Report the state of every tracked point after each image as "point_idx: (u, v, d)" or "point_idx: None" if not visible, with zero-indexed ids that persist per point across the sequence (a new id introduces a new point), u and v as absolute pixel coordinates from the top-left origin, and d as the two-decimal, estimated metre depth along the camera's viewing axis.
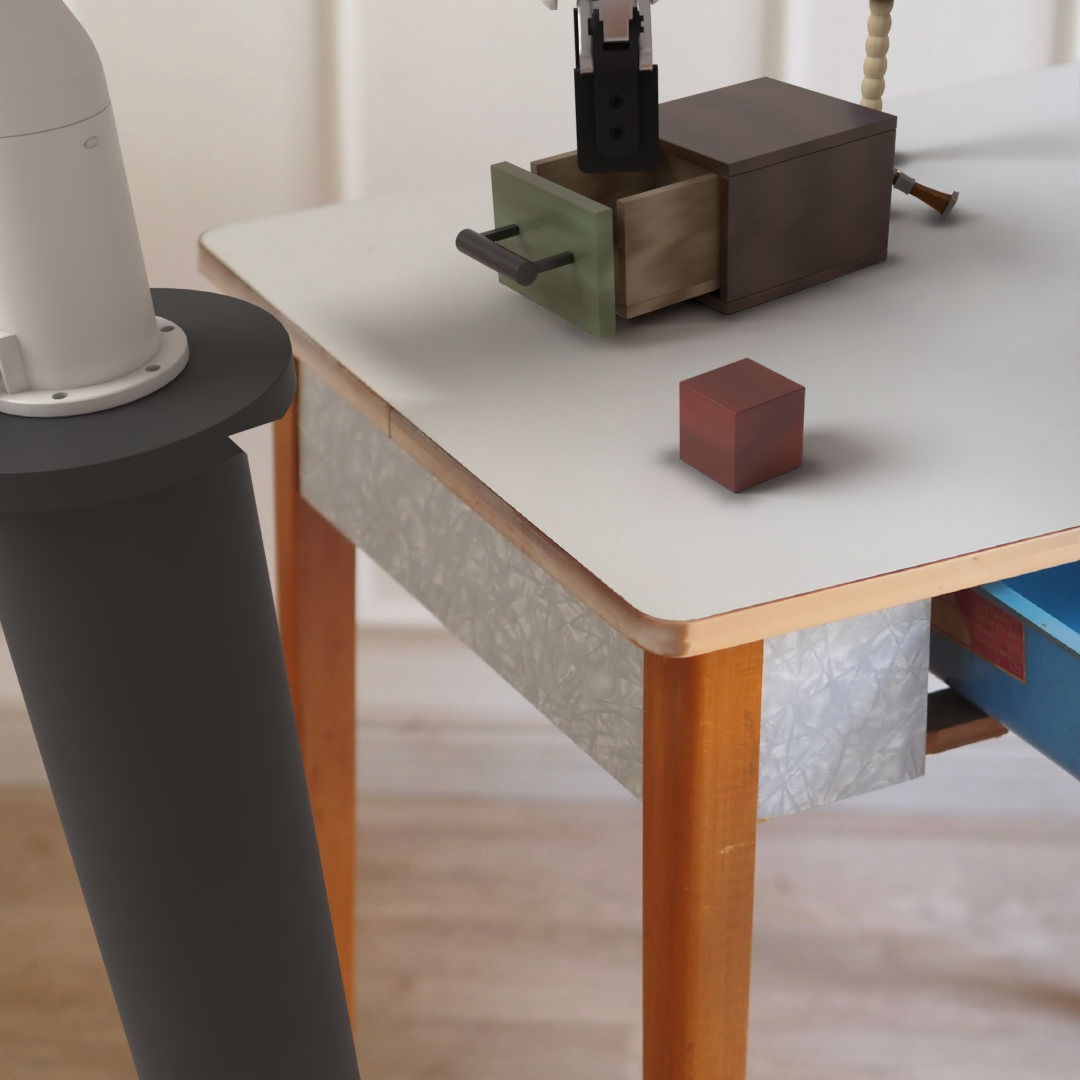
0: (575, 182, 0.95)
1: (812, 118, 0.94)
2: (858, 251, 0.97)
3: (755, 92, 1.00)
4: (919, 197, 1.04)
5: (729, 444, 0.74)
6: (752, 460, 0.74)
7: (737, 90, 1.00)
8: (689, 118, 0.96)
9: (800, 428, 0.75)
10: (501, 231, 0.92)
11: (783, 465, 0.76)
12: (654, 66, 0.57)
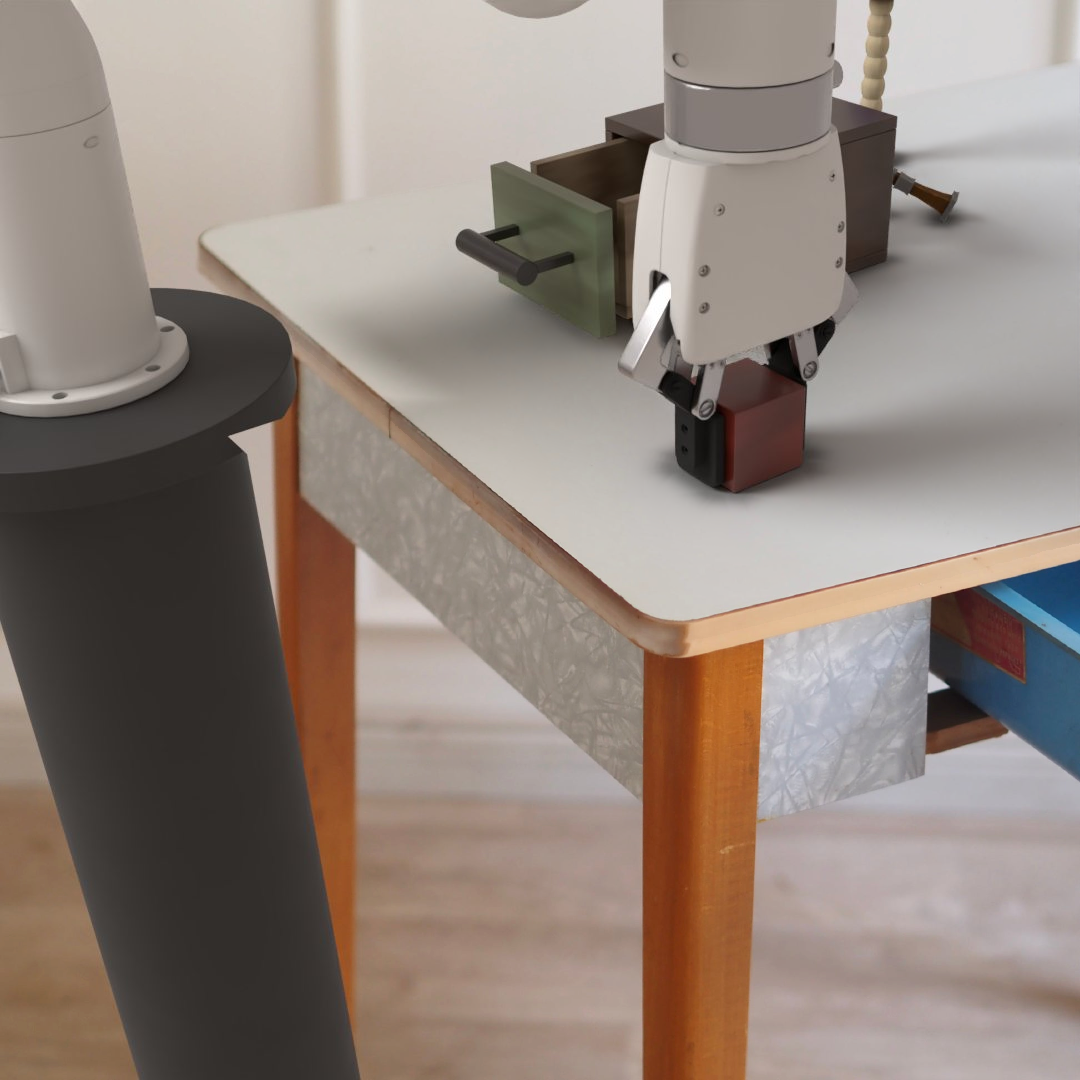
0: (575, 182, 0.95)
1: None
2: (858, 251, 0.97)
3: None
4: (919, 197, 1.04)
5: (729, 444, 0.74)
6: (752, 461, 0.74)
7: None
8: None
9: (800, 428, 0.75)
10: (501, 231, 0.92)
11: (783, 465, 0.76)
12: (718, 416, 0.73)
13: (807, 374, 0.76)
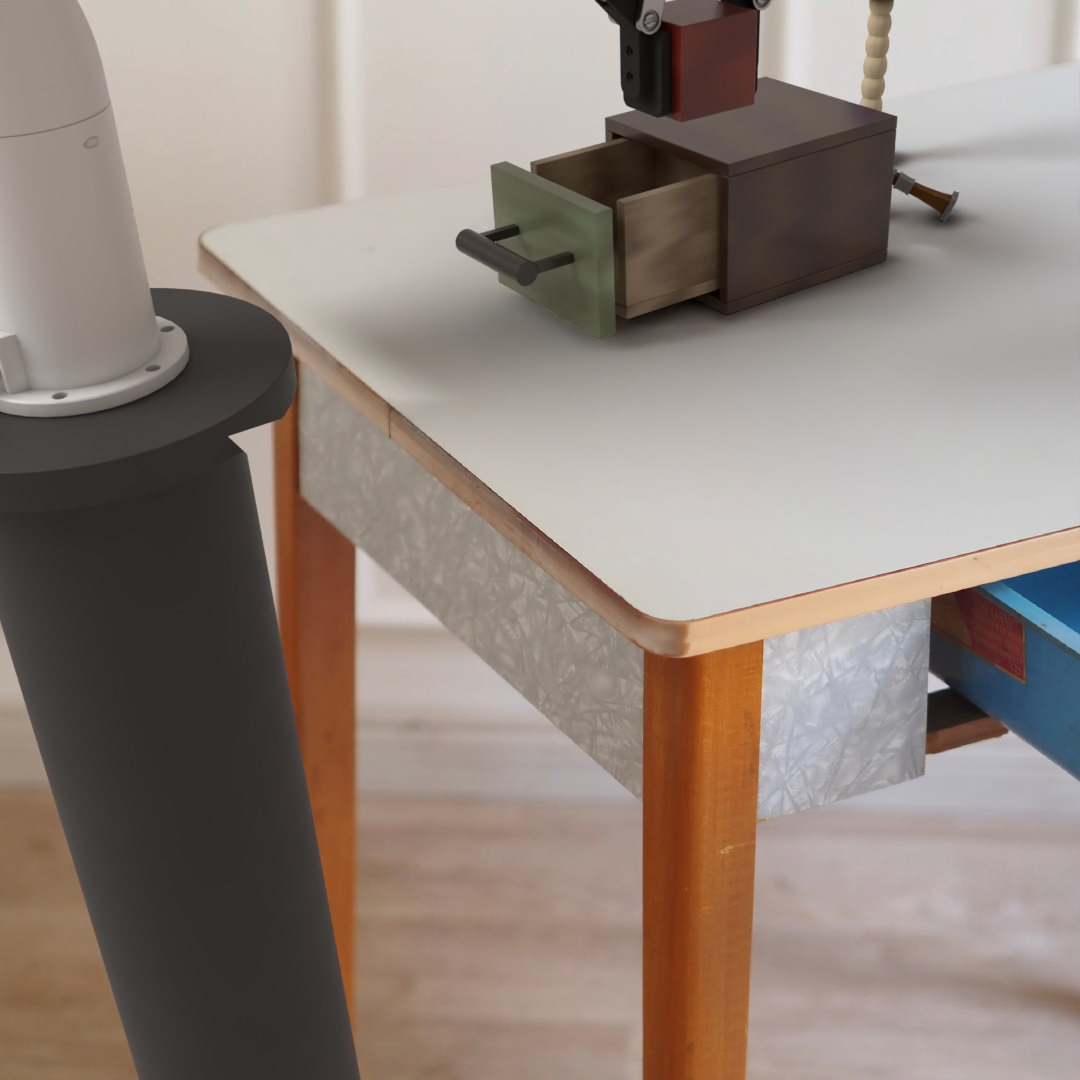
0: (575, 182, 0.95)
1: (812, 118, 0.94)
2: (858, 251, 0.97)
3: None
4: (919, 197, 1.04)
5: (675, 66, 0.70)
6: (700, 87, 0.71)
7: None
8: None
9: (752, 59, 0.72)
10: (501, 231, 0.92)
11: (734, 100, 0.73)
12: (663, 32, 0.70)
13: (760, 3, 0.72)
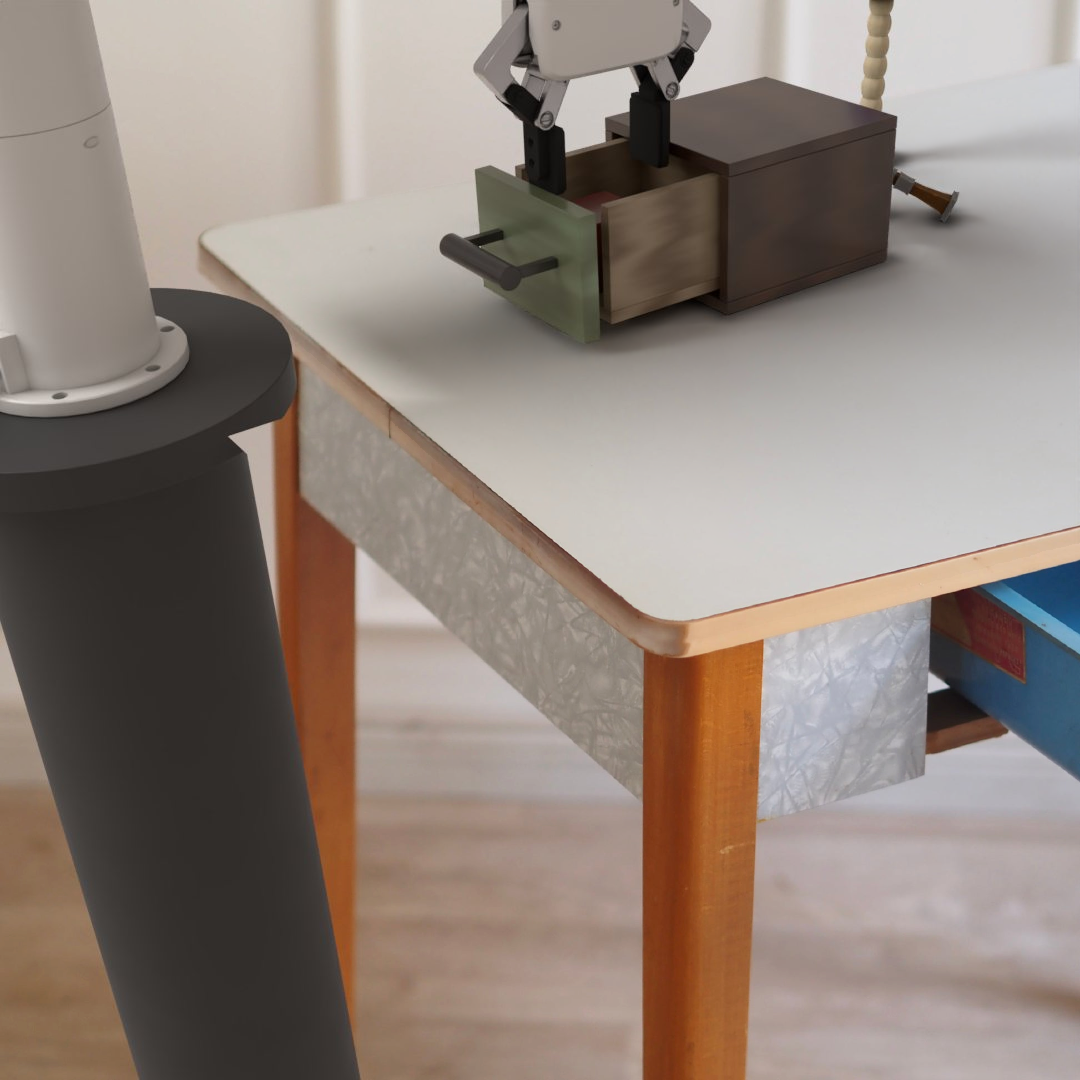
0: None
1: (812, 118, 0.94)
2: (858, 251, 0.97)
3: (755, 92, 1.00)
4: (919, 197, 1.04)
5: None
6: None
7: (737, 90, 1.00)
8: (689, 118, 0.96)
9: None
10: (485, 236, 0.91)
11: None
12: (557, 128, 0.86)
13: (669, 94, 0.90)
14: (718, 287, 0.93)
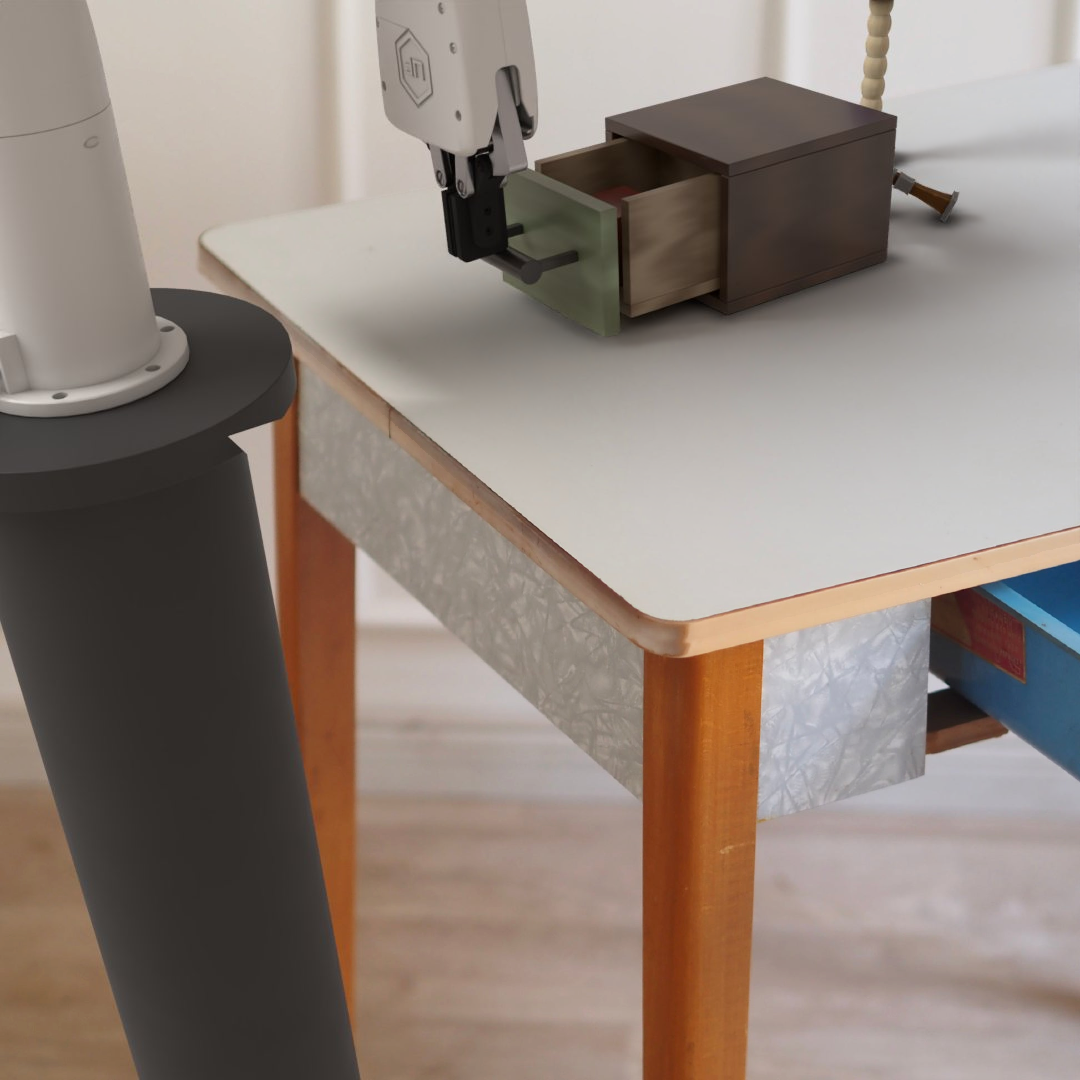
0: (579, 181, 0.95)
1: (812, 118, 0.94)
2: (858, 251, 0.97)
3: (755, 92, 1.00)
4: (919, 197, 1.04)
5: None
6: None
7: (737, 90, 1.00)
8: (689, 118, 0.96)
9: None
10: None
11: None
12: None
13: None
14: None
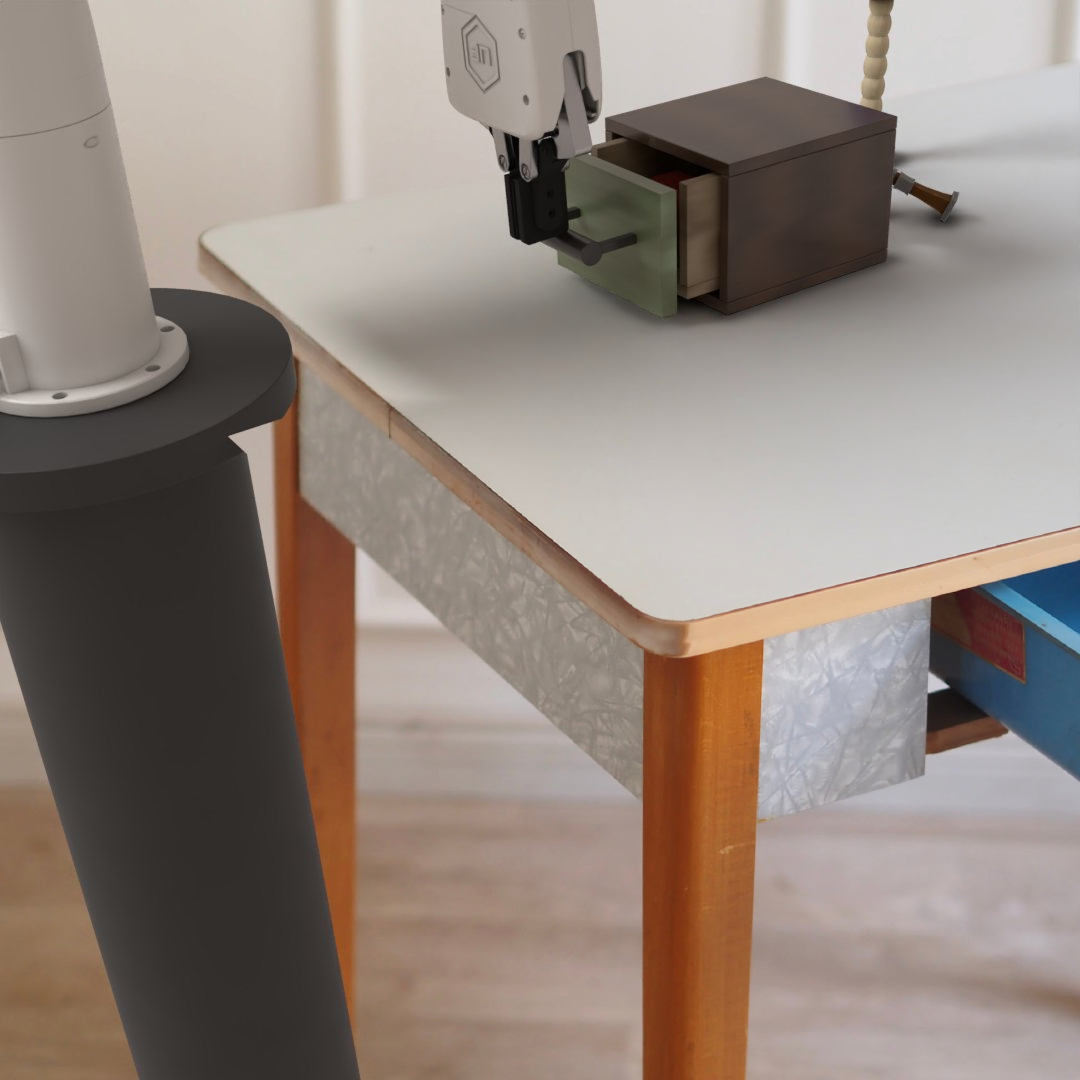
0: (633, 166, 0.97)
1: (812, 118, 0.94)
2: (858, 251, 0.97)
3: (755, 92, 1.00)
4: (919, 197, 1.04)
5: None
6: (678, 246, 0.94)
7: (737, 90, 1.00)
8: (689, 118, 0.96)
9: None
10: None
11: None
12: None
13: None
14: None
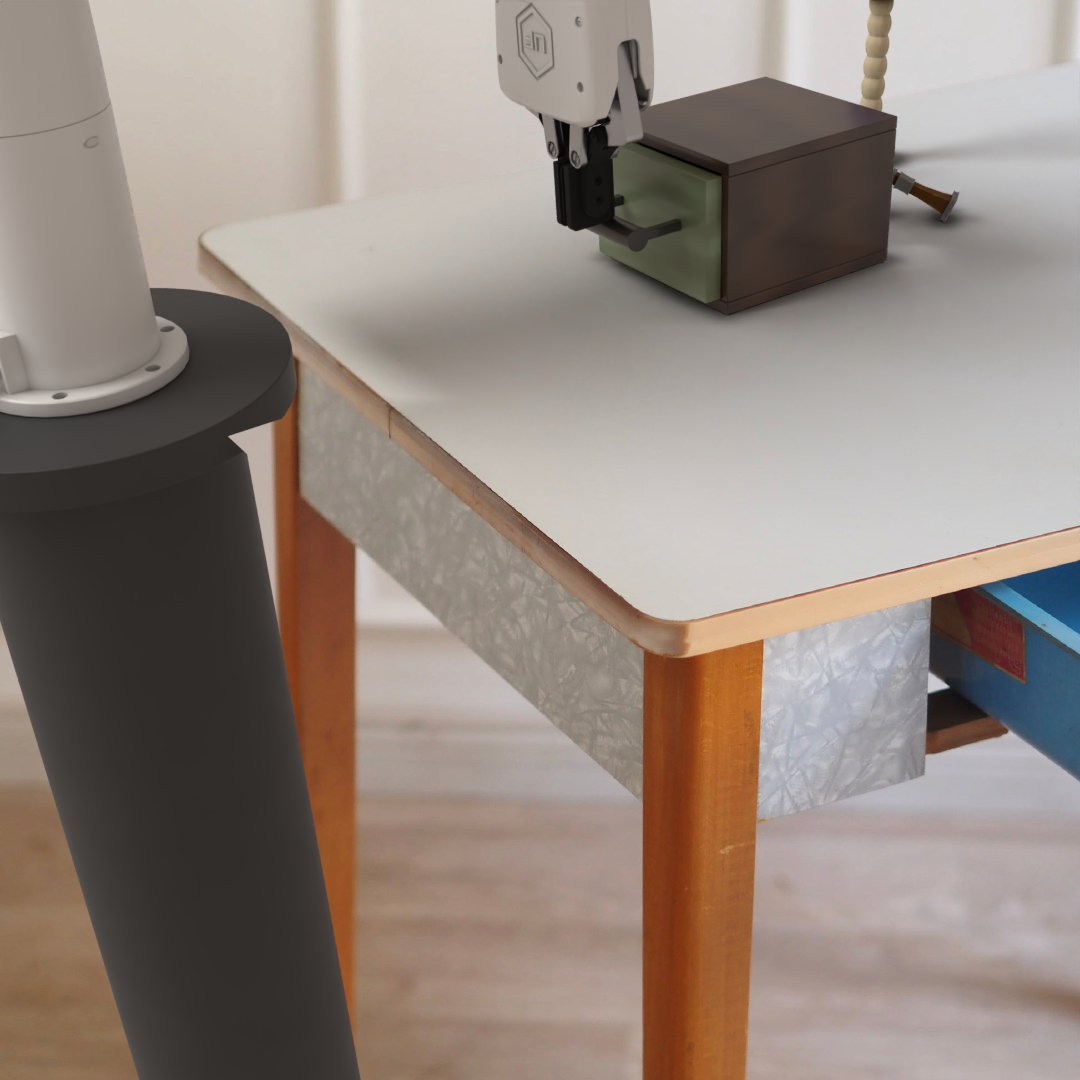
0: None
1: (812, 118, 0.94)
2: (858, 251, 0.97)
3: (755, 92, 1.00)
4: (919, 197, 1.04)
5: None
6: None
7: (737, 90, 1.00)
8: (689, 118, 0.96)
9: None
10: None
11: None
12: None
13: None
14: None
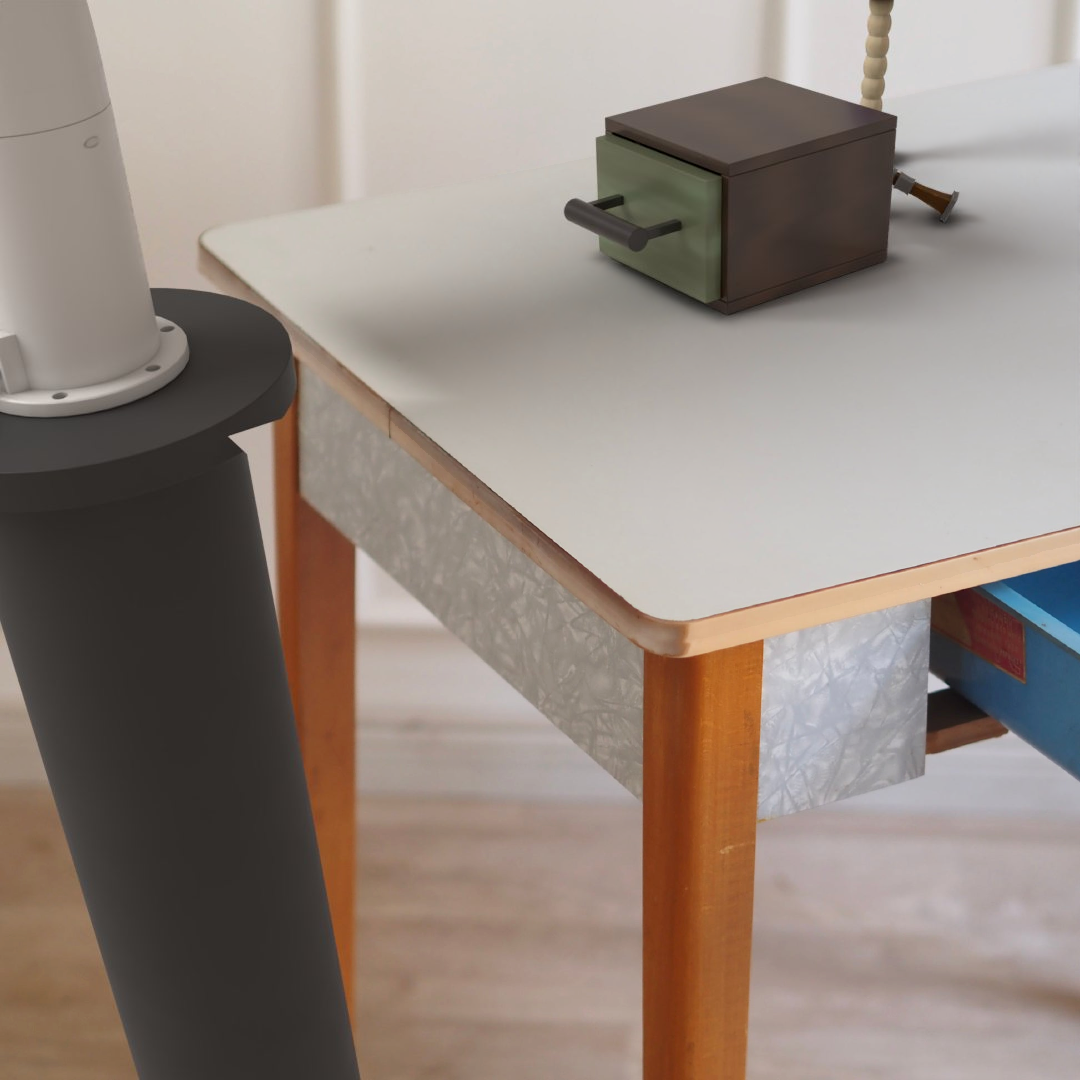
0: None
1: (812, 118, 0.94)
2: (858, 251, 0.97)
3: (755, 92, 1.00)
4: (919, 197, 1.04)
5: None
6: None
7: (737, 90, 1.00)
8: (689, 118, 0.96)
9: None
10: (607, 201, 0.95)
11: None
12: None
13: None
14: None
